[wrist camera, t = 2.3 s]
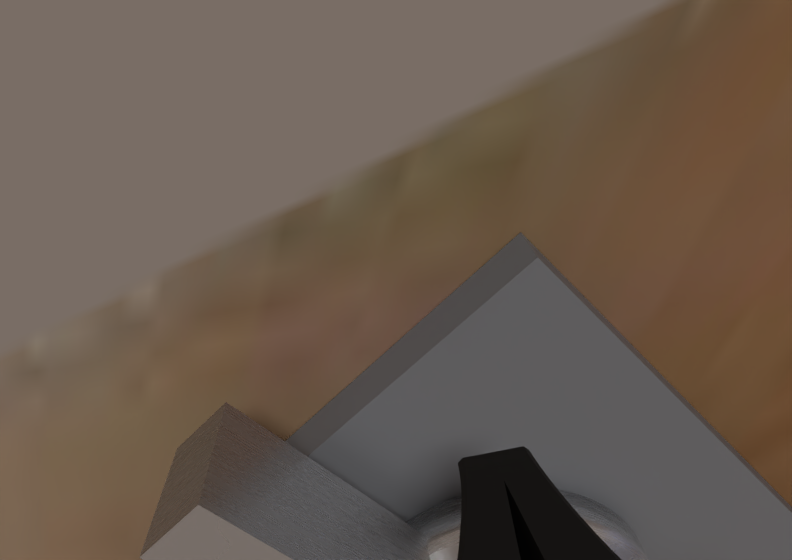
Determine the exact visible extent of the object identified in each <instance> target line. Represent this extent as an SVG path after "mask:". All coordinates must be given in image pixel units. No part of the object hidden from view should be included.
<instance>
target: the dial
mask: <svg viewBox="0 0 792 560" xmlns="http://www.w3.org/2000/svg"><path fill="white" fill-rule="evenodd" d="M559 491H560V493H561V494H562V495H563V496H564V498H565V499H566V500H567V501H568V502H569V504H570V505H571V506H572V507H573V508H574V509H575V510H576V512H577V513H578V514H579V515H580V516H581V517H582V518H583V519H584V521H585V522H586V523H587V524H588V525H589V526H590V527H591V528H592V529H593V531H594V532H595V533H596V534H597V535H598V536H599V537H600V538H601V539H602V540H603V541H604V542H605V543H606V544H607V545H608V546H609V548H610V549H611V550H612V551H613V552H614V553H615V554H616V555H617V556H618V557H619V558H620V559H621V560H649V559H648V557H647V555H646V553H645V551H644V549H643V547H642V545H641V543H640V541H639V540H638V538H637V536H636V534H635V533H634V532H633V530H632V529H631V527H630V526H629V525H628V524H627V523H626V522H625V521H624V520H623V519H622V518H621V517H620V516H619V515H618V514H616V513H615V512H614V511H612V510H611V509H609V508H608V507H606V506H605V505H603V504H601V503H599V502H597V501H594V500H592V499H590V498H587V497H585V496H582V495H579V494H576V493H572V492H568V491H563V490H559ZM460 525H461V497H458V498H455V499H451V500H449V501H446V502H444V503H442V504H439V505H437V506H434V507H432V508H430V509H428V510H426V511H424V512H422V513H421V514H419V515H417V516H415V517H413V518H412V519H410V520H409V521H407V522H405V521H403V520H402V519H400V518H399V517H397V516H396V515H394V514H393V513H391V512H390V511H388V510H387V509H385V508H384V507H382V506H381V505H379V504H378V503H376V502H375V501H373V500H372V499H370V498H369V497H367V496H366V495H364V494H363V493H361V492H360V491H358V490H357V489H355V488H354V487H352V486H351V485H349V484H348V483H346V482H345V481H343V480H342V479H340V478H339V477H337V476H336V475H334V474H333V473H331V472H330V471H328V470H327V469H325V468H324V467H322V466H321V465H319V464H318V463H316V462H315V461H313V460H312V459H310V458H309V457H307V456H306V455H304V454H303V453H301V452H300V451H298V450H297V449H295V448H294V447H292V446H291V445H290V444H288V443H287V442H285V441H284V440H282V439H281V438H279V437H278V436H276V435H275V434H273V433H272V432H270V431H269V430H267V429H266V428H264V427H263V426H261V425H260V424H258V423H257V422H255V421H254V420H252V419H251V418H249V417H248V416H246V415H245V414H243V413H242V412H240V411H239V410H237V409H236V408H234V407H233V406H231V405H230V404H228V403H227V402H226V403H225V404H223V405H222V406H221V407H220V408H219V409H218V410H217V411H216V412H215V413H214V414H213V415H212V416H211V417H210V418H209V419H208V420H207V421H206V422H205V423H203V424H202V425H201V426H200V427H199V428H198V429H197V430H196V431H195V432H194V433H193V434H192V435H191V436H190V437H189V438H188V439H187V440H186V441H185V442H183V443H182V444H181V445H180V446H179V447H178V448H177V450H176V453H175V456H174V459H173V462H172V465H171V468H170V471H169V473H168V476H167V479H166V482H165V485H164V488H163V491H162V494H161V497H160V500H159V502H158V505H157V508H156V511H155V514H154V517H153V520H152V523H151V526H150V529H149V531H148V534H147V537H146V540H145V543H144V546H143V549H142V552H141V555H140V557H139V558H141V559H143V560H457V558H458V549H459V537H460Z"/></svg>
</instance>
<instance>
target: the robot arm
mask: <svg viewBox="0 0 792 560" xmlns="http://www.w3.org/2000/svg"><path fill="white" fill-rule="evenodd" d="M458 468H459V474H460V480H461V525H460V537H459V549H458V558H457V560H621V559H620V558H619V557H618V556H617V555H616V554H615V553H614V552H613V551H612V550H611V549H610V548H609V546H608V545H607V544H606V543H605V542H604V541H603V540H602V539H601V538H600V537H599V536H598V535H597V534H596V533H595V532H594V531H593V529H592V528H591V527H590V526H589V525H588V524H587V523H586V522H585V521H584V519H583V518H582V517H581V516H580V515H579V514H578V513H577V512H576V510H575V509H574V508H573V507H572V506H571V505H570V504H569V502H568V501H567V500H566V499H565V498H564V496H563V495H562V494H561V493H560V491H559V490H558V489H557V488H556V486H555V485H554V484H553V483H552V481H551V480H550V479H549V477H548V476H547V475H546V474H545V472H544V471H543V469H542V468H541V467H540V465H539V464H538V462H537V461H536V460H535V458H534V457H533V455H532V453H531V452H530V450H529V449H527V448H525V447H524V446H522V447H517V448H511V449H506V450H501V451H496V452H490V453H485V454H480V455H475V456H469V457H464V458H462V459H461V460H460V461H459V462H458Z"/></svg>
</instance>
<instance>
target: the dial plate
mask: <svg viewBox="0 0 792 560" xmlns="http://www.w3.org/2000/svg"><path fill="white" fill-rule="evenodd" d="M285 442H287V443H288V444H290V445H291V446H292V447H294V448H295V449H297V450H298V451H300V452H301V453H303V454H304V455H306V456H307V457H309V458H310V459H312V460H313V461H315V462H316V463H318V464H319V465H321V466H322V467H324V468H325V469H327V470H328V471H330V472H331V473H333V474H334V475H336V476H337V477H339V478H340V479H342V480H343V481H345V482H346V483H348V484H349V485H351V486H352V487H354V488H355V489H357V490H358V491H360V492H361V493H363V494H364V495H366V496H367V497H369V498H370V499H372V500H373V501H375V502H376V503H378V504H379V505H381V506H382V507H384V508H385V509H387V510H388V511H390V512H391V513H393V514H394V515H396V516H397V517H399V518H400V519H402V520H403V521H405V522H407V521H409V520H410V519H412V518H413V517H415V516H417V515H419V514H421V513H422V512H424V511H426V510H428V509H430V508H432V507H434V506H437V505H439V504H442V503H444V502H446V501H449V500H451V499H455V498H458V497H461V480H460V474H459V468H458V462H459V461H460V460H461V459H462V458H464V457H469V456H475V455H480V454H485V453H490V452H496V451H501V450H506V449H511V448H517V447H522V446H524V447H525V448H527V449H529V450H530V452H531V453H532V455H533V457H534V458H535V460H536V461H537V462H538V464H539V465H540V467H541V468H542V469H543V471H544V472H545V474H546V475H547V476H548V477H549V479H550V480H551V481H552V483H553V484H554V485H555V486H556V488H557V489H558V490H563V491H568V492H572V493H576V494H579V495H582V496H585V497H587V498H590V499H592V500H594V501H597V502H599V503H601V504H603V505H605V506H606V507H608V508H609V509H611V510H612V511H614V512H615V513H616V514H618V515H619V516H620V517H621V518H622V519H623V520H624V521H625V522H626V523H627V524H628V525H629V526H630V527H631V529H632V530H633V532H634V533H635V534H636V536H637V538H638V540H639V541H640V543H641V545H642V547H643V549H644V551H645V553H646V555H647V557H648V559H649V560H792V507H791V506H790V505H789V504H788V503H787V502H786V501H785V500H784V499H783V498H782V497H781V496H780V495H779V494H778V493H777V492H776V491H775V490H774V489H773V488H772V487H771V486H770V485H769V484H768V483H767V482H766V481H765V480H764V479H763V477H762V476H761V475H760V474H759V473H758V472H757V471H756V470H755V469H754V468H753V467H752V466H751V465H750V464H749V463H748V462H747V461H746V460H745V459H744V458H743V457H742V456H741V455H740V454H739V453H738V452H737V451H736V450H735V449H734V448H733V447H732V446H731V445H730V444H729V443H728V442H727V441H726V440H725V439H724V438H723V437H722V436H721V435H720V434H719V433H718V432H717V431H716V430H715V429H714V428H713V427H712V426H711V425H710V424H709V423H708V422H707V421H706V420H705V419H704V418H703V417H702V416H701V415H700V414H699V413H698V412H697V411H696V410H695V409H694V408H693V407H692V405H691V404H690V403H689V402H688V401H687V400H686V399H685V398H684V397H683V396H682V395H681V394H680V393H679V392H678V391H677V390H676V389H675V388H674V387H673V386H672V385H671V384H670V383H669V382H668V381H667V380H666V379H665V378H664V377H663V376H662V375H661V374H660V373H659V372H658V371H657V370H656V369H655V368H654V367H653V366H652V365H651V364H650V363H649V362H648V361H647V360H646V359H645V358H644V357H643V356H642V355H641V354H640V353H639V352H638V351H637V350H636V349H635V348H634V347H633V346H632V345H631V344H630V343H629V342H628V341H627V340H626V339H625V338H624V337H623V336H622V335H621V334H620V332H619V331H618V330H617V329H616V328H615V327H614V326H613V325H612V324H611V323H610V322H609V321H608V320H607V319H606V318H605V317H604V316H603V315H602V314H601V313H600V312H599V311H598V310H597V309H596V308H595V307H594V306H593V305H592V304H591V303H590V302H589V301H588V300H587V299H586V298H585V297H584V296H583V295H582V294H581V293H580V292H579V291H578V290H577V289H576V288H575V287H574V286H573V285H572V284H571V283H570V282H569V281H568V280H567V279H566V278H565V277H564V276H563V275H562V274H561V273H560V272H559V271H558V270H557V269H556V268H555V267H554V266H553V265H552V264H551V263H550V262H549V260H548V259H547V258H546V257H545V256H544V255H543V254H542V253H541V252H540V251H539V250H538V249H537V248H536V247H535V246H534V245H533V244H532V243H531V242H530V241H529V240H528V239H527V238H526V237H525V236H524V235H523V234H522V233H521V232H520V233H519V234H518V235H517V236H516V237H515V238H514V239H513V240H511V241H510V242H509V243H508V244H507V245H506V246H505V247H504V248H502V249H501V250H500V251H499V252H498V253H497V254H496V255H495V256H493V257H492V258H491V259H490V260H489V261H488V262H487V263H486V264H484V265H483V266H482V267H481V268H480V269H479V270H478V271H477V272H475V273H474V274H473V275H472V276H471V277H470V278H469V279H468V280H466V281H465V282H464V283H463V284H462V285H461V286H460V287H459V288H457V289H456V290H455V291H454V292H453V293H452V294H451V295H450V296H448V297H447V298H446V299H445V300H444V301H443V302H442V303H440V304H439V305H438V306H437V307H436V308H435V309H434V310H433V311H431V312H430V313H429V314H428V315H427V316H426V317H425V318H424V319H422V320H421V321H420V322H419V323H418V324H417V325H416V326H415V327H413V328H412V329H411V330H410V331H409V332H408V333H407V334H406V335H404V336H403V337H402V338H401V339H400V340H399V341H398V342H397V343H395V344H394V345H393V346H392V347H391V348H390V349H389V350H388V351H386V352H385V353H384V354H383V355H382V356H381V357H380V358H379V359H377V360H376V361H375V362H374V363H373V364H372V365H371V366H370V367H368V368H367V369H366V370H365V371H364V372H363V373H362V374H360V375H359V376H358V377H357V378H356V379H355V380H354V381H353V382H351V383H350V384H349V385H348V386H347V387H346V388H345V389H344V390H342V391H341V392H340V393H339V394H338V395H337V396H336V397H335V398H333V399H332V400H331V401H330V402H329V403H328V404H327V405H326V406H324V407H323V408H322V409H321V410H320V411H319V412H318V413H317V414H315V415H314V416H313V417H312V418H311V419H310V420H309V421H308V422H306V423H305V424H304V425H303V426H302V427H301V428H300V429H299V430H297V431H296V432H295V433H294V434H293V435H292V436H291V437H290V438H288V439H287V440H286V441H285Z"/></svg>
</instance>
